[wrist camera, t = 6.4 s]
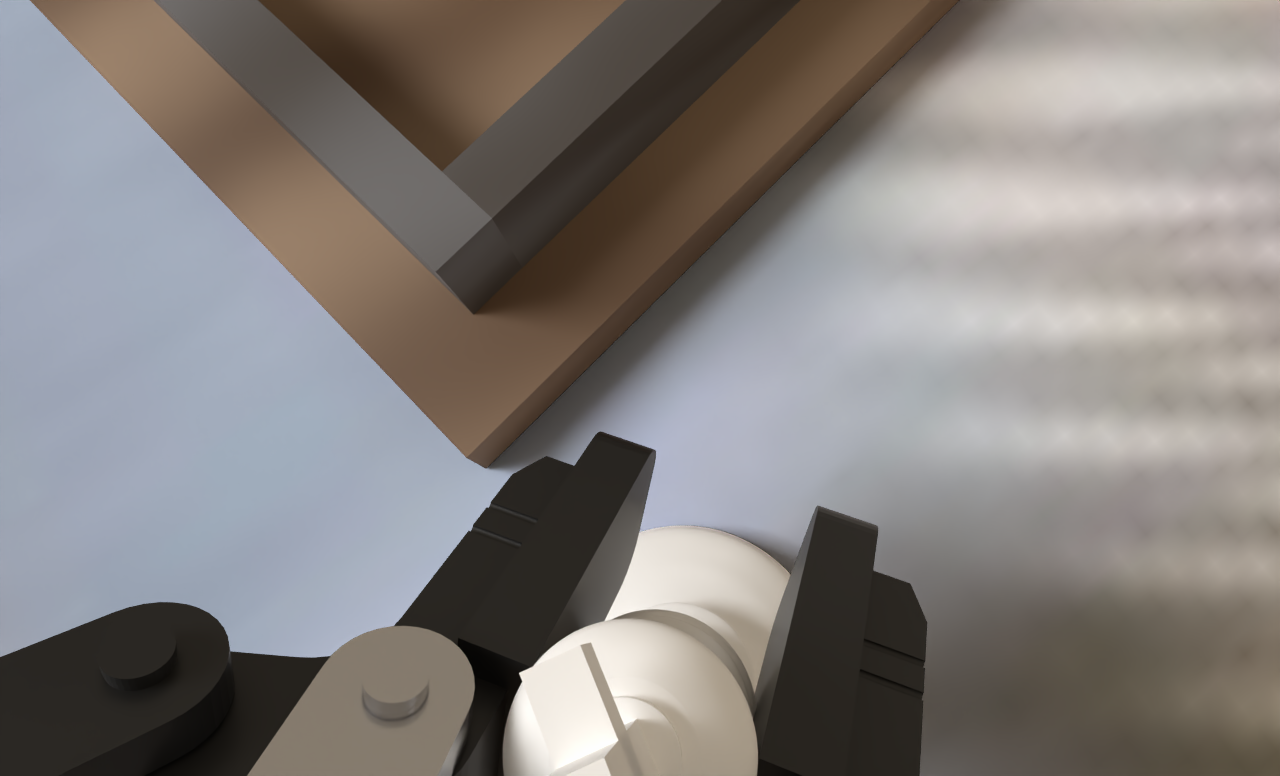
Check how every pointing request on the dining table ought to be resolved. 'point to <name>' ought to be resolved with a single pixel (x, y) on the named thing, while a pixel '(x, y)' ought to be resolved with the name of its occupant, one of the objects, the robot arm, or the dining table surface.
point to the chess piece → (656, 668)
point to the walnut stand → (490, 157)
